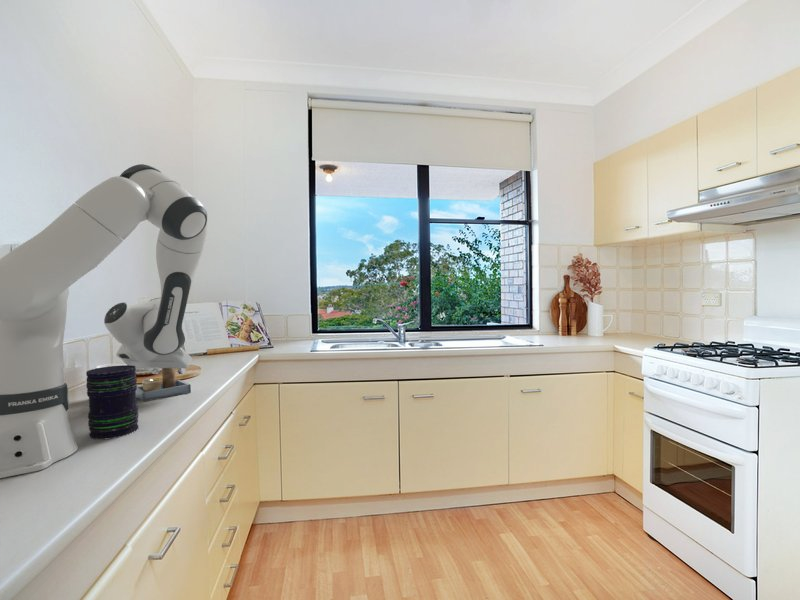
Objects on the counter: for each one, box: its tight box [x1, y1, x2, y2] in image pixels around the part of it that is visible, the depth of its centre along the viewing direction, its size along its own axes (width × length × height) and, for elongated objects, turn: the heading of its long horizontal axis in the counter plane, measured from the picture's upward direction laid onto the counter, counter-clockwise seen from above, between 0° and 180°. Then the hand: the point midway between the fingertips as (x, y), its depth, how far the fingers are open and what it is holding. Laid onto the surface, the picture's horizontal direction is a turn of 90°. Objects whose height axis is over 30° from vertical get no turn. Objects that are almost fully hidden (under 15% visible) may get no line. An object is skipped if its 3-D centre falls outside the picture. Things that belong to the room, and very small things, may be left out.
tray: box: [136, 379, 192, 402], centre depth 137 cm, size 14×11×3 cm
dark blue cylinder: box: [85, 364, 139, 440], centre depth 101 cm, size 10×10×15 cm
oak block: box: [142, 379, 162, 392], centre depth 133 cm, size 4×4×4 cm
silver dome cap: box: [141, 378, 154, 385], centre depth 136 cm, size 3×3×4 cm
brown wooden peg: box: [161, 368, 176, 389], centre depth 138 cm, size 4×4×8 cm
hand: (169, 372), depth 139 cm, fingers open, 8 cm apart
